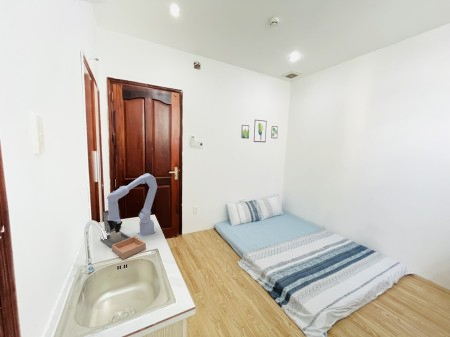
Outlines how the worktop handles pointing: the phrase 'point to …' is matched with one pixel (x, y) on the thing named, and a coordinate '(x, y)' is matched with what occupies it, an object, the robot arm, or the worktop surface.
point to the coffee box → (106, 225)
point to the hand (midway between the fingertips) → (114, 230)
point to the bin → (128, 247)
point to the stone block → (115, 237)
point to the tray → (109, 243)
